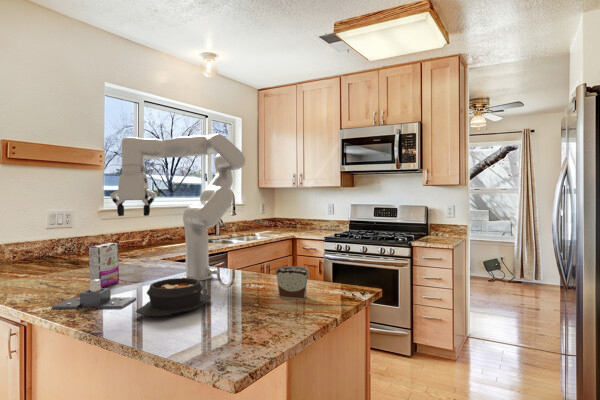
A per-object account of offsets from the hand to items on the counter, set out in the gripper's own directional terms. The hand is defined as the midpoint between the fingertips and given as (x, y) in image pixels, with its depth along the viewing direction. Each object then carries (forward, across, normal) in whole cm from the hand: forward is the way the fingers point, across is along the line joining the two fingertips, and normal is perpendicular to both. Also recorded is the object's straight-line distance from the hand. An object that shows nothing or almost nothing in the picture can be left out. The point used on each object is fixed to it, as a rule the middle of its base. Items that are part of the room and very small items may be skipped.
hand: (133, 215), depth 143 cm
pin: (+28, +5, +18) cm, 34 cm away
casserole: (+29, -24, +24) cm, 44 cm away
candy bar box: (+28, +16, -8) cm, 34 cm away
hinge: (+28, +5, +18) cm, 34 cm away
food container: (+28, -61, +9) cm, 68 cm away
